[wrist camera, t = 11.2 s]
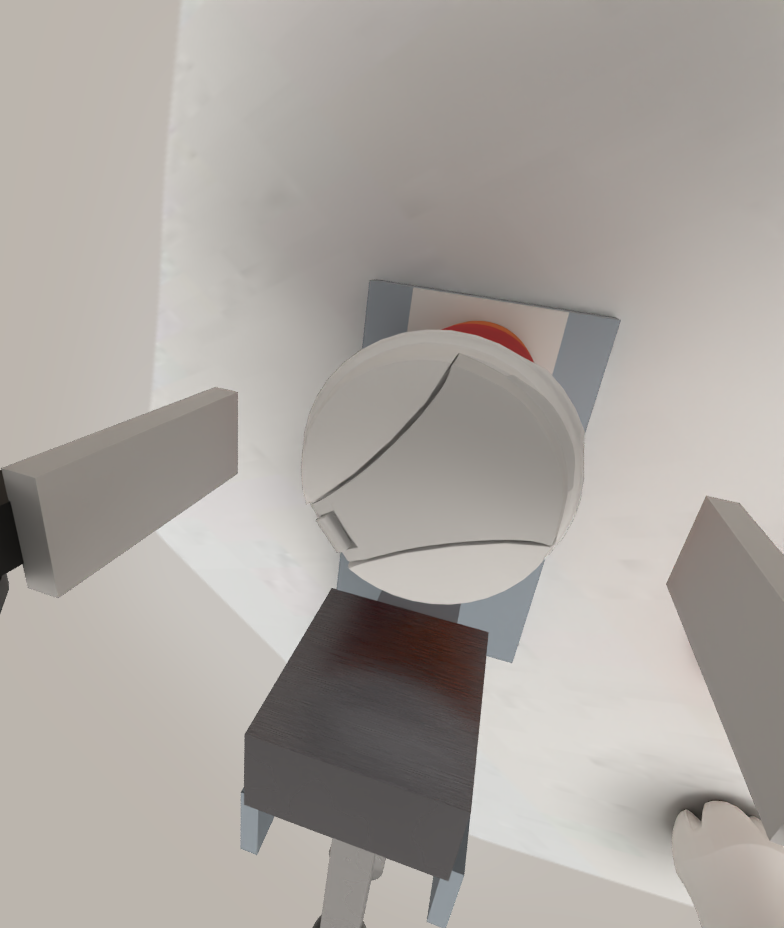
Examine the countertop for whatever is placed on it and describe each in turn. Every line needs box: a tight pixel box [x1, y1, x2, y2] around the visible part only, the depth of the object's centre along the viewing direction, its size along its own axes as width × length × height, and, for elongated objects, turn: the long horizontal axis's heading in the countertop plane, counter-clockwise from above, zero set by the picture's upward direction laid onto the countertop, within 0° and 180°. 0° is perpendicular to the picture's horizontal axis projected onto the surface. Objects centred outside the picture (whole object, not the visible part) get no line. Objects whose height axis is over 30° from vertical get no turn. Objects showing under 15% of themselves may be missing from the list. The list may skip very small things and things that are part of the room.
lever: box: [244, 588, 489, 928], centre depth 20 cm, size 18×6×9 cm, turn 172°
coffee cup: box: [301, 321, 585, 604], centre depth 20 cm, size 8×8×15 cm
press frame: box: [241, 280, 621, 928], centre depth 22 cm, size 23×13×20 cm, turn 172°
